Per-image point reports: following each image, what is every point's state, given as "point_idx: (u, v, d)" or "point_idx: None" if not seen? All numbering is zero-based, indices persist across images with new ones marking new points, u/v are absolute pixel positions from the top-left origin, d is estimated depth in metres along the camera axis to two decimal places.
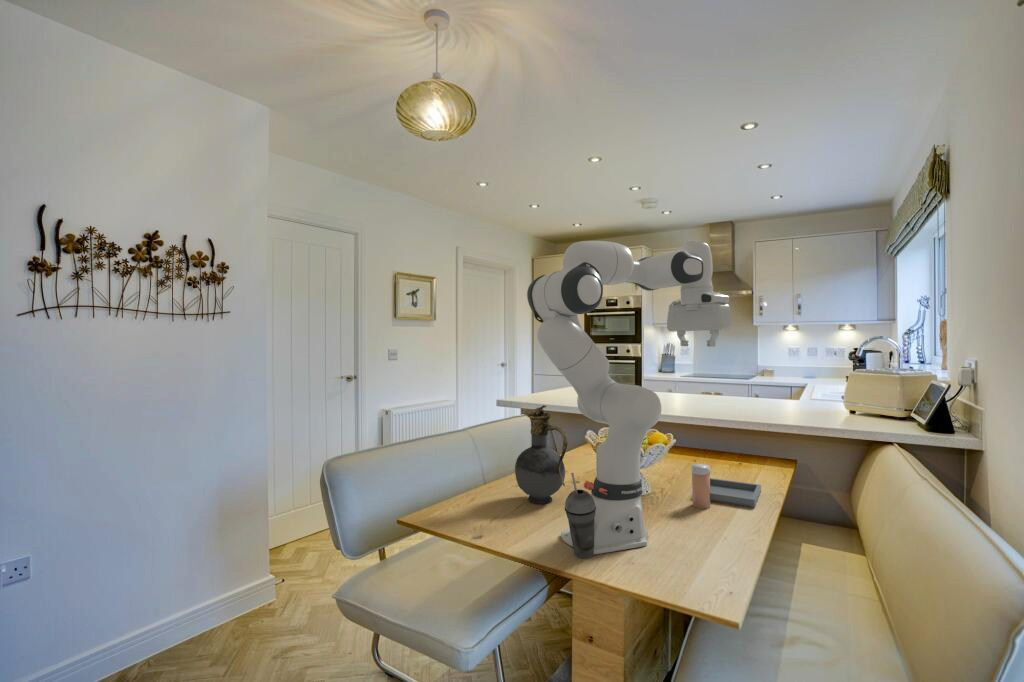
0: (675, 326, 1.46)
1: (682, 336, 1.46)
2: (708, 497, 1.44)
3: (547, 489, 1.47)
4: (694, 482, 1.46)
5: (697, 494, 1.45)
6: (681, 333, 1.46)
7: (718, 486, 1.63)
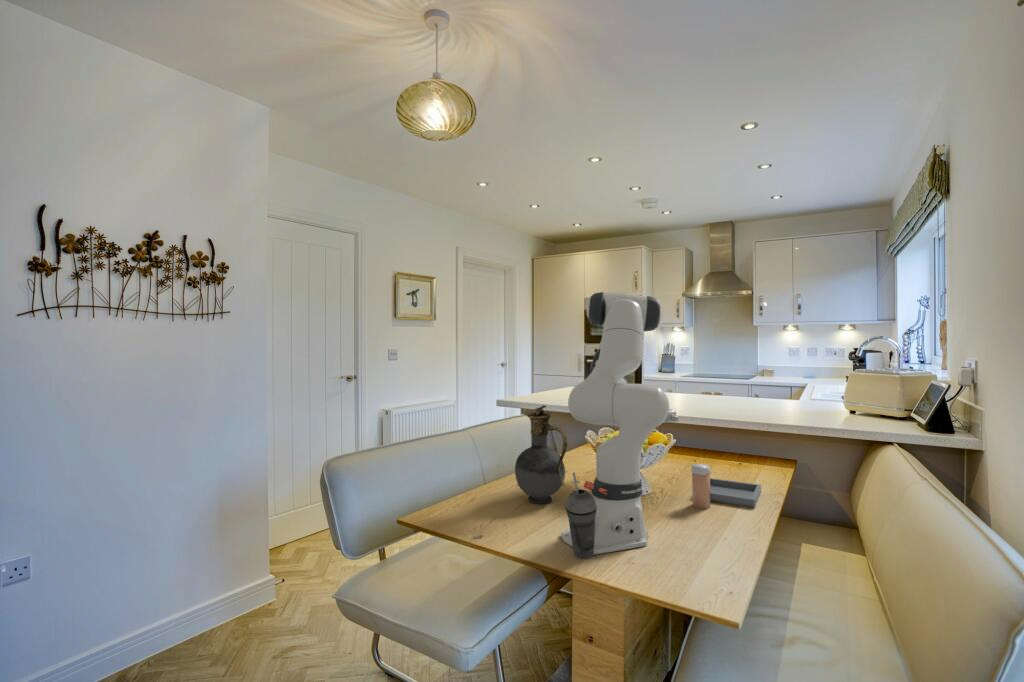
0: None
1: None
2: (708, 497, 1.44)
3: (547, 489, 1.47)
4: (694, 482, 1.46)
5: (697, 494, 1.45)
6: None
7: (718, 486, 1.63)
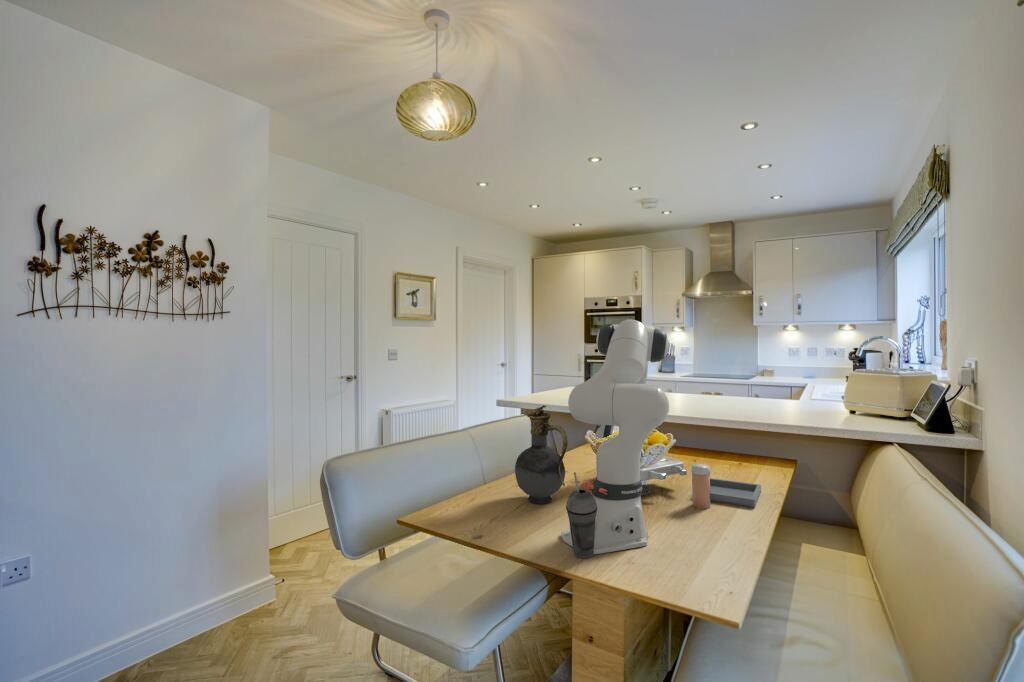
0: (646, 468, 1.57)
1: None
2: (708, 497, 1.44)
3: (547, 489, 1.47)
4: (694, 482, 1.46)
5: (697, 494, 1.45)
6: None
7: (718, 486, 1.63)
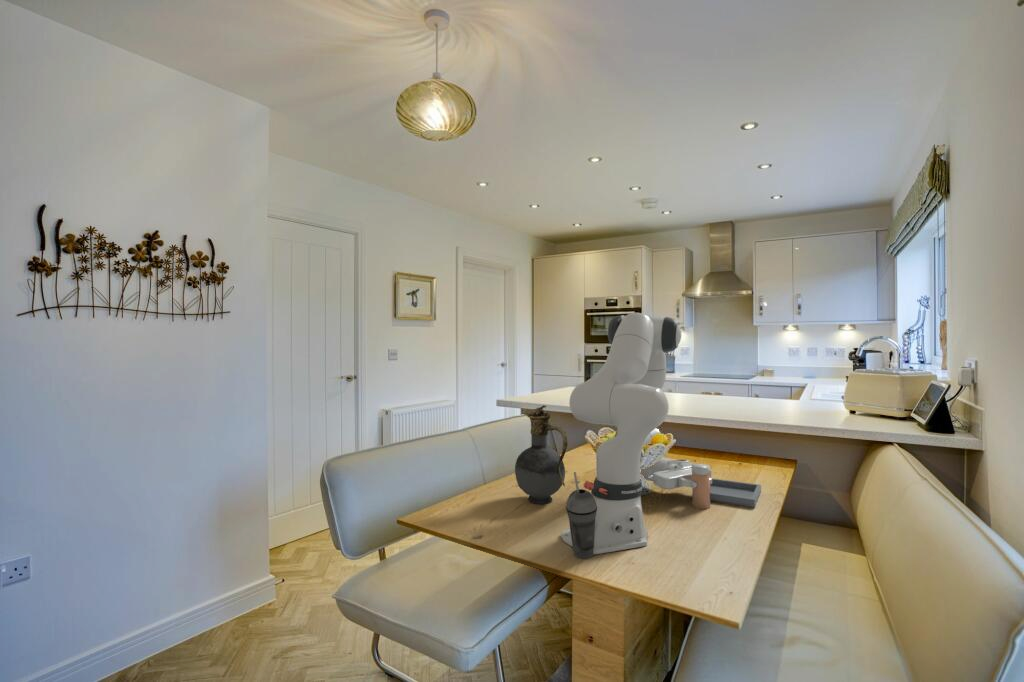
0: (672, 475, 1.48)
1: None
2: (708, 497, 1.44)
3: (547, 489, 1.47)
4: None
5: (697, 494, 1.45)
6: None
7: (718, 486, 1.63)
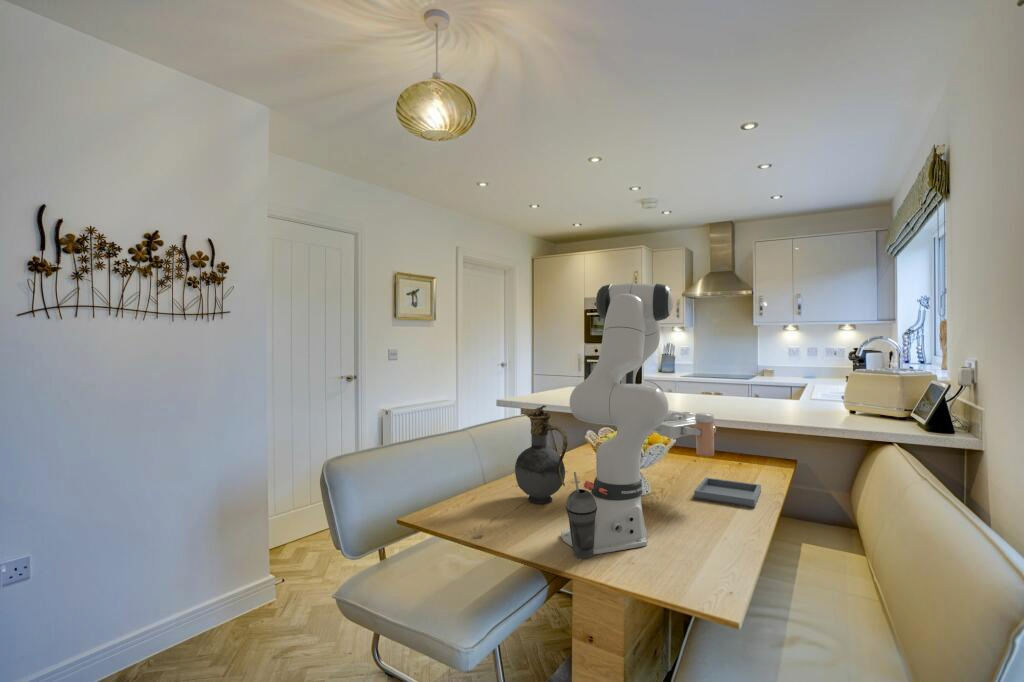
0: (676, 424, 1.49)
1: None
2: (712, 444, 1.46)
3: (547, 489, 1.47)
4: None
5: (701, 442, 1.46)
6: None
7: (718, 486, 1.63)
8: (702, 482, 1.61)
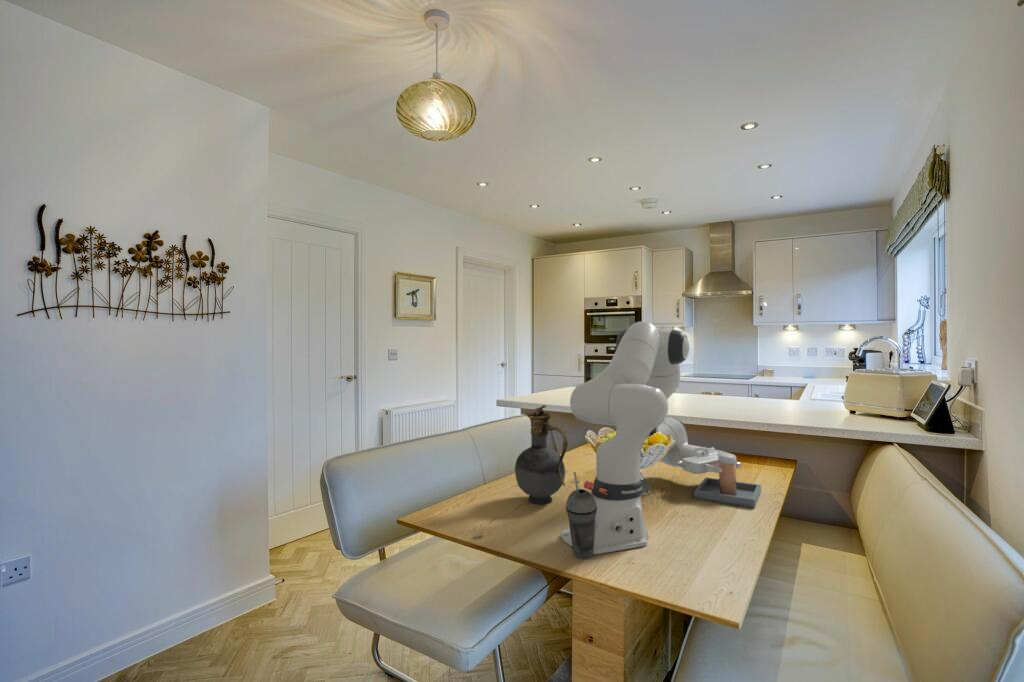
0: (700, 461, 1.57)
1: None
2: (735, 485, 1.53)
3: (547, 489, 1.47)
4: None
5: (724, 483, 1.54)
6: None
7: (718, 486, 1.63)
8: (702, 482, 1.61)
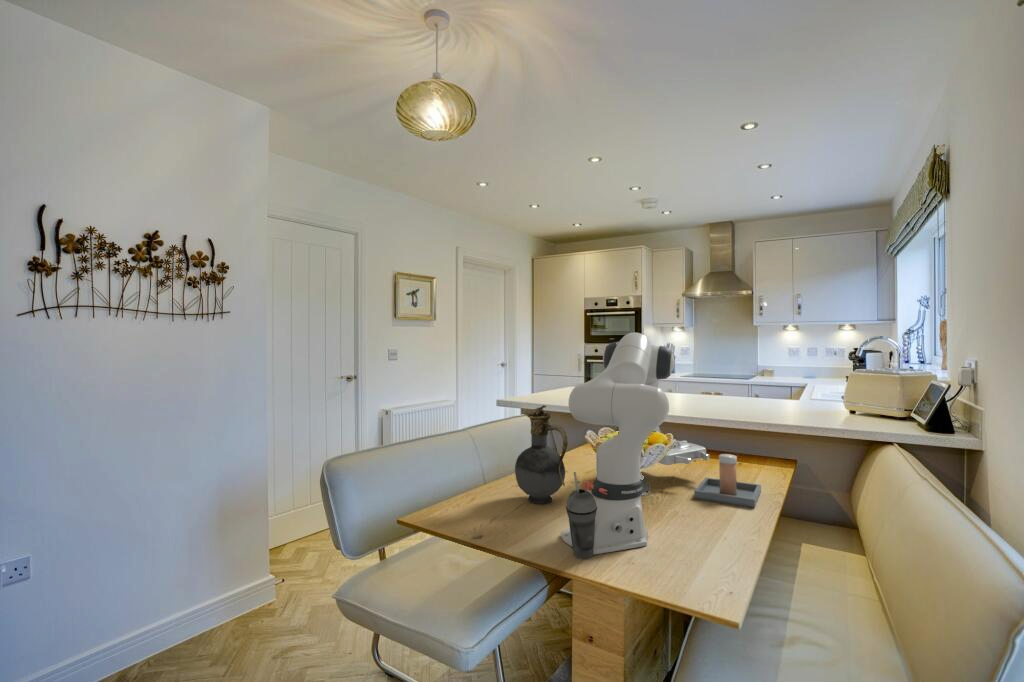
0: (671, 453, 1.67)
1: None
2: (735, 485, 1.53)
3: (547, 489, 1.47)
4: (721, 471, 1.54)
5: (724, 483, 1.54)
6: None
7: (718, 486, 1.63)
8: (702, 482, 1.61)
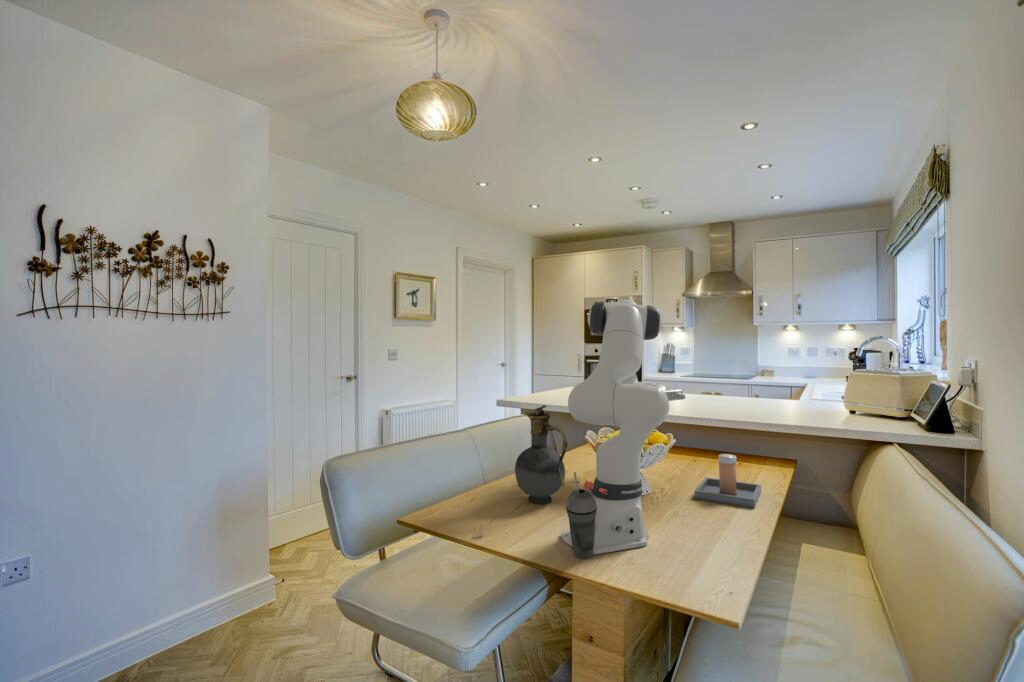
0: None
1: None
2: (735, 485, 1.53)
3: (547, 489, 1.47)
4: (721, 471, 1.55)
5: (724, 483, 1.54)
6: None
7: (718, 486, 1.63)
8: (702, 482, 1.61)
